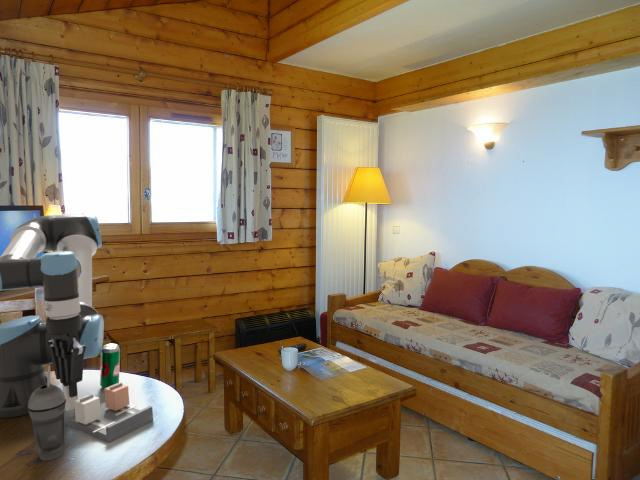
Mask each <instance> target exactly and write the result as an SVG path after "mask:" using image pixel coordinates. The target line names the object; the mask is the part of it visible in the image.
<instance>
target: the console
mask: <svg viewBox="0 0 640 480" xmlns="http://www.w3.org/2000/svg"><path fill="white" fill-rule="evenodd" d="M100 411H101V418H99V419H97V420H95V421H93V422H90V423H88V424H86V425H85V424H83V423H80V422H78V421H76V418H75V414H74V415H72V416H70V417H67V418H66V425H67V426H69V427H71V428H74V429H77V430H78V431H82V432H83V433H86V434H88V435H91V436H94V438H95V437H96V438H98V439H100V440H103V441H104V442H108V443H112V442H114V441H116V440H117V439H119V438H122V437H123V436H125V435H127V434H130V433H132V432H133V431H135V430H137V429H139V428H141V427H143V426H145V425H147V424H149V423H151V422H152V421H154V411H153V406H151V405H148V406H146V407H144V408H142V409H138V408H137V405H132V406H130V405H128V406H125V407H123V408H121V409H119V410H117V411H114V410H111V409H109V408H106V403H105V402H102V403H100Z"/></svg>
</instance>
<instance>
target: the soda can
mask: <svg viewBox="0 0 640 480" xmlns="http://www.w3.org/2000/svg"><path fill="white" fill-rule="evenodd" d="M120 361H121V348H120V345H118V344H117V343H108V344H104V345H102V349H101V352H100V373H99V376H100V380H99V386H100V387H101V388H102V389H105V388H107V387H109V386H112V385H114V384H117V383H120V365H121V364H120V363H121V362H120Z"/></svg>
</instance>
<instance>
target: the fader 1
mask: <svg viewBox="0 0 640 480" xmlns="http://www.w3.org/2000/svg"><path fill="white" fill-rule="evenodd" d="M100 404H101V400H100V397H98V396H95V395H94V394H87V395H85V396H82V397H79V398H78V399H77V400H75V401H74V407H75V408H74V415H75V418H76V421H78V422H80V423H83V424H85V425H86V424H88V423H90V422H93V421H95V420H97V419H99V418H101V411H100Z"/></svg>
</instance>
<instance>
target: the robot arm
mask: <svg viewBox="0 0 640 480" xmlns="http://www.w3.org/2000/svg"><path fill="white" fill-rule="evenodd" d="M102 243H103V242H102V236H101V229H100V225H99V220H98V217H97V215H95V214H92V213H80V214H61V215H60V214H59V215H57V214H55V215H42V216H38V217H34V218H31V219H30V220H27V221H25V222H23V223H21V224H20V225H19V226H17V227H16V228H15V229H14V231H13V232H12V233H11V235H10V241H9V243H8V246H7V247H6V248H5V250H4V251H3V252H2V254H1V255H0V292H1V291H10V290H11V291H12V290H21V289H31V288H41V287H42V289H43V298H44V305H43V309H44V310H45V317H46V320H42V318H41V316H39V315H27V316H22V317H17V318H14V319H10V320H8V321H7V320H6V321H4V322H1V323H0V418H2V419H3V418H5V419H6V418H15V417H21V416H25V415H28V414H29V411H28V402H29V399H30V396H31V394H32V393H33V392H34V391H35V390H36V389H37V388H39V387H41V386H43V385H47V376H48V373H46V365H50V364H52V365H53V370H54V376H55V378H56V380H59V382H60V383H61V385H62V391H63V393H64V395H65V398H66V402H65V411H67V412H69V411H72V410H75V407H74V401H75V400H77V399H79V396H78V393H79V392H78V385H77V384H78V383H80V382H82V381H83V376H84V362H85V361H84V360H86V359H89V358H90V359H91V358H95V357H97V356H99V354H101V350H102V348H103V343H104V330H105V327H104V325H105V324H104V316H103V315H101V314H99V312H98V311H97V309H95V308H94V306H93V256H95V255H96V253H97V249H99V248H102V247H103V244H102ZM41 252H46V253H44V254H42V255H41V256H40V257H37V256H38V254H40V253H41ZM50 385H53V384H52V382H51V381H50ZM29 415H30V414H29Z"/></svg>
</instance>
